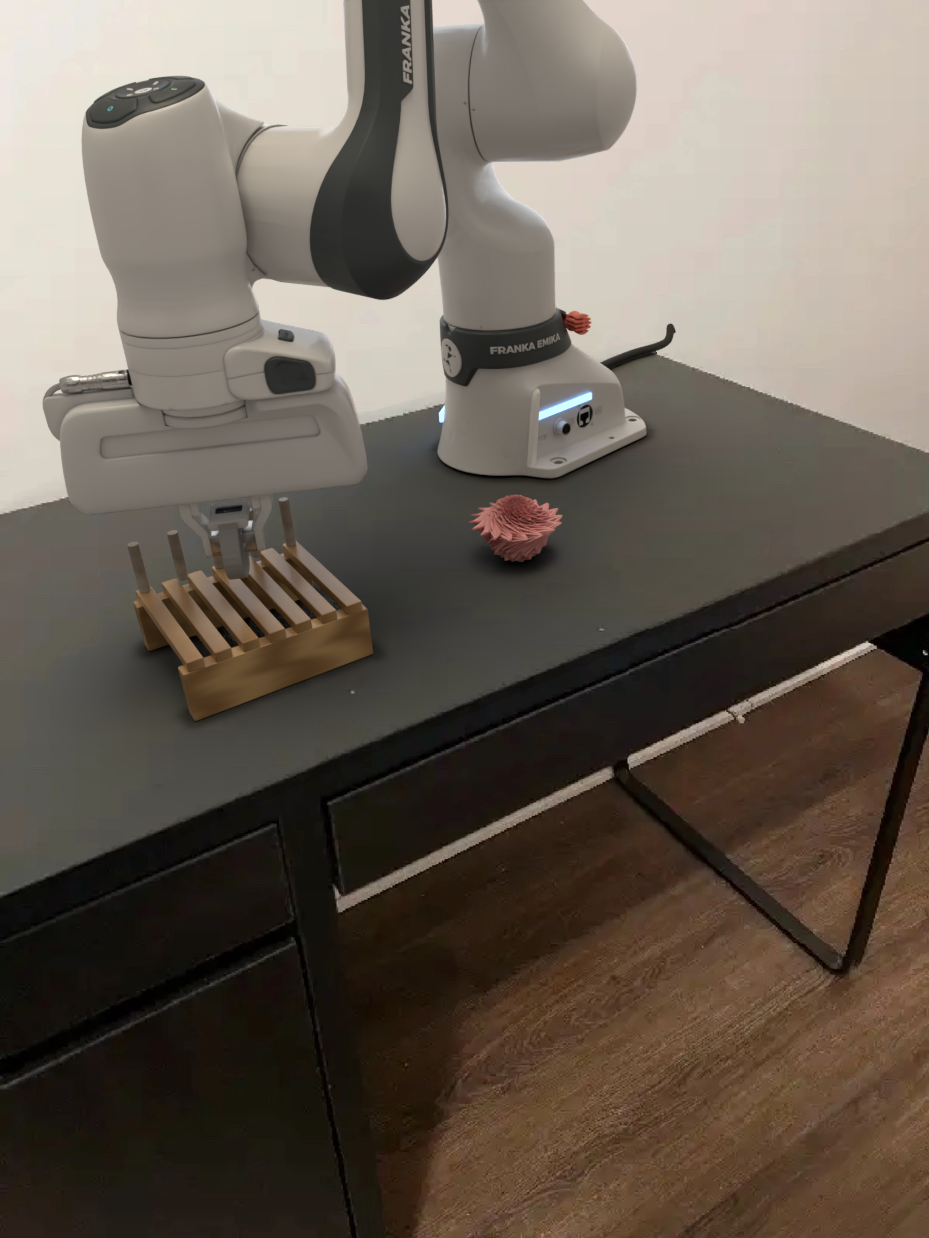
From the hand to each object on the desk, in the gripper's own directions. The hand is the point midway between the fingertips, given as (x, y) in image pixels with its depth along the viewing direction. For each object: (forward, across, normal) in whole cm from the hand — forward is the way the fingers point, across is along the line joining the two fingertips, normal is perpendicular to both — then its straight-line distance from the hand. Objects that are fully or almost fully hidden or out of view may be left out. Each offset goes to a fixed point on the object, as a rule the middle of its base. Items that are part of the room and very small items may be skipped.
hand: (236, 550), depth 74 cm
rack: (+9, 0, 0) cm, 9 cm away
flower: (+9, +22, +10) cm, 26 cm away
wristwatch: (+2, 0, 0) cm, 2 cm away
